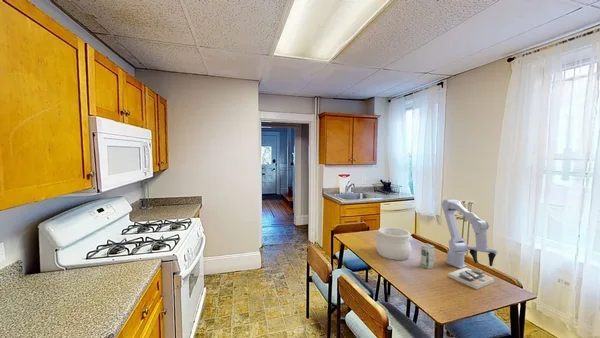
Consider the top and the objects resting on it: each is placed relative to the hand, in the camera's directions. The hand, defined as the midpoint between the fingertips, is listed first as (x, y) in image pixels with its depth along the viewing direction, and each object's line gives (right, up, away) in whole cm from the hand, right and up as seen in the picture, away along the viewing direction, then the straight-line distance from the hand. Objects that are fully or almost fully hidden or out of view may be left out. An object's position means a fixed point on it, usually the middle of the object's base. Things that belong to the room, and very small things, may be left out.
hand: (483, 264), depth 148 cm
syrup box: (-24, -8, +18) cm, 31 cm away
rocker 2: (-7, -6, 0) cm, 9 cm away
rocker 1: (-12, -6, -2) cm, 13 cm away
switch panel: (-7, -9, +1) cm, 11 cm away
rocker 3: (-2, -6, +3) cm, 6 cm away
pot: (-40, -7, +37) cm, 55 cm away
